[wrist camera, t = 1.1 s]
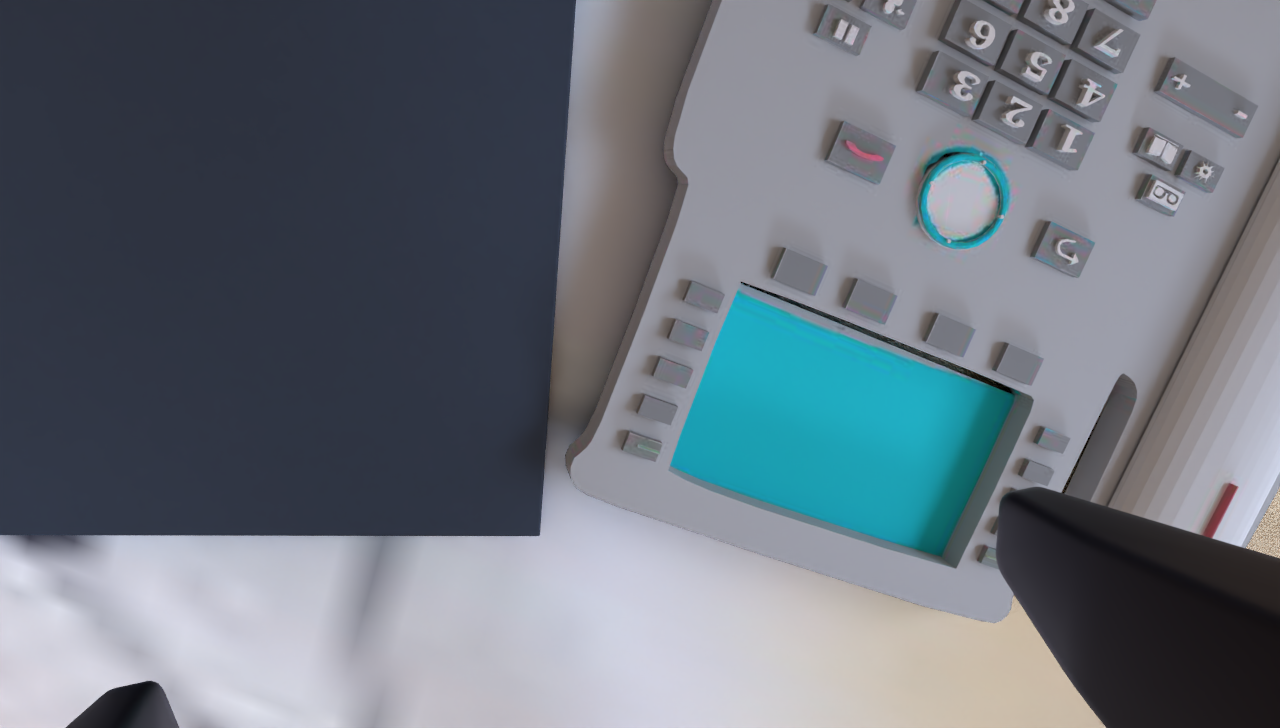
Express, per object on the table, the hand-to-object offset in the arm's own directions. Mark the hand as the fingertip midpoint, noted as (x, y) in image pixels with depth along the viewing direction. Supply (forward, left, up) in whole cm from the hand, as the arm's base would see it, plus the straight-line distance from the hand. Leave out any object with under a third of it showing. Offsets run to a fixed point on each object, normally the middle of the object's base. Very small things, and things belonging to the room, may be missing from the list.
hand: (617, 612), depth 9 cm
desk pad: (+3, +6, -14) cm, 16 cm away
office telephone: (+3, -14, -15) cm, 21 cm away
